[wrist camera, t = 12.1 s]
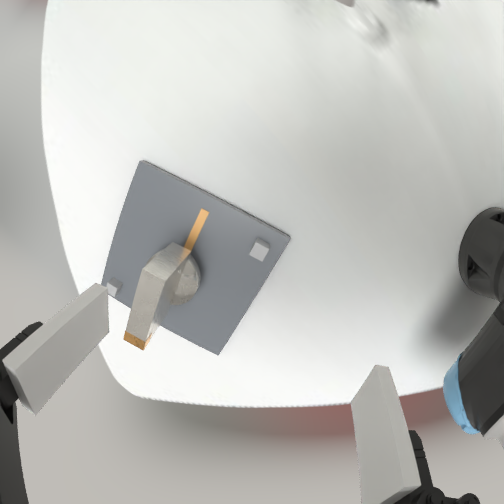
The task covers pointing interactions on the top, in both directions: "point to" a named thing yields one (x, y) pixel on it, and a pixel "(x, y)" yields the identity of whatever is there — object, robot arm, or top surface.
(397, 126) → the top surface
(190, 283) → the grey block knob
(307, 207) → the top surface
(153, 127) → the top surface
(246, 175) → the top surface
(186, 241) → the post plate
